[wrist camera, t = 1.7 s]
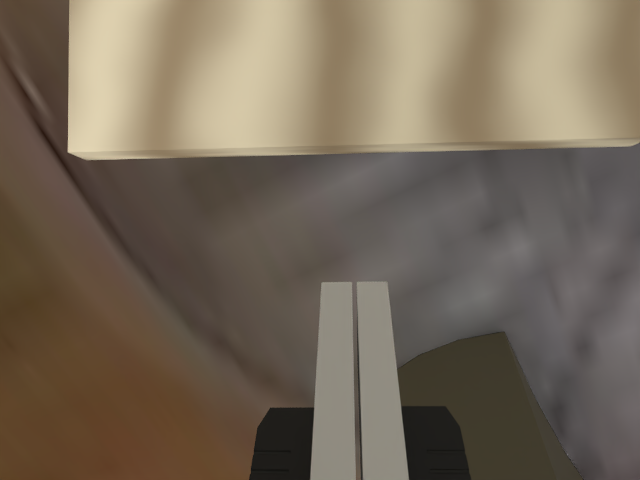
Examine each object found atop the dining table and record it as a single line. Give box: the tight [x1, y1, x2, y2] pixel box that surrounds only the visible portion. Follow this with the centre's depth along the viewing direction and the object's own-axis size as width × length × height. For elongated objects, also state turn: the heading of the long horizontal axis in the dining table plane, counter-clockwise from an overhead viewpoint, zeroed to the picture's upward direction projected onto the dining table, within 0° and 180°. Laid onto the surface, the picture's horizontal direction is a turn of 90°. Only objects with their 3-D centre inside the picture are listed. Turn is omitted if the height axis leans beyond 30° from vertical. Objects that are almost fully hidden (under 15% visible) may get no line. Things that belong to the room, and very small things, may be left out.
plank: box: [68, 0, 640, 160], centre depth 26 cm, size 26×9×2 cm
